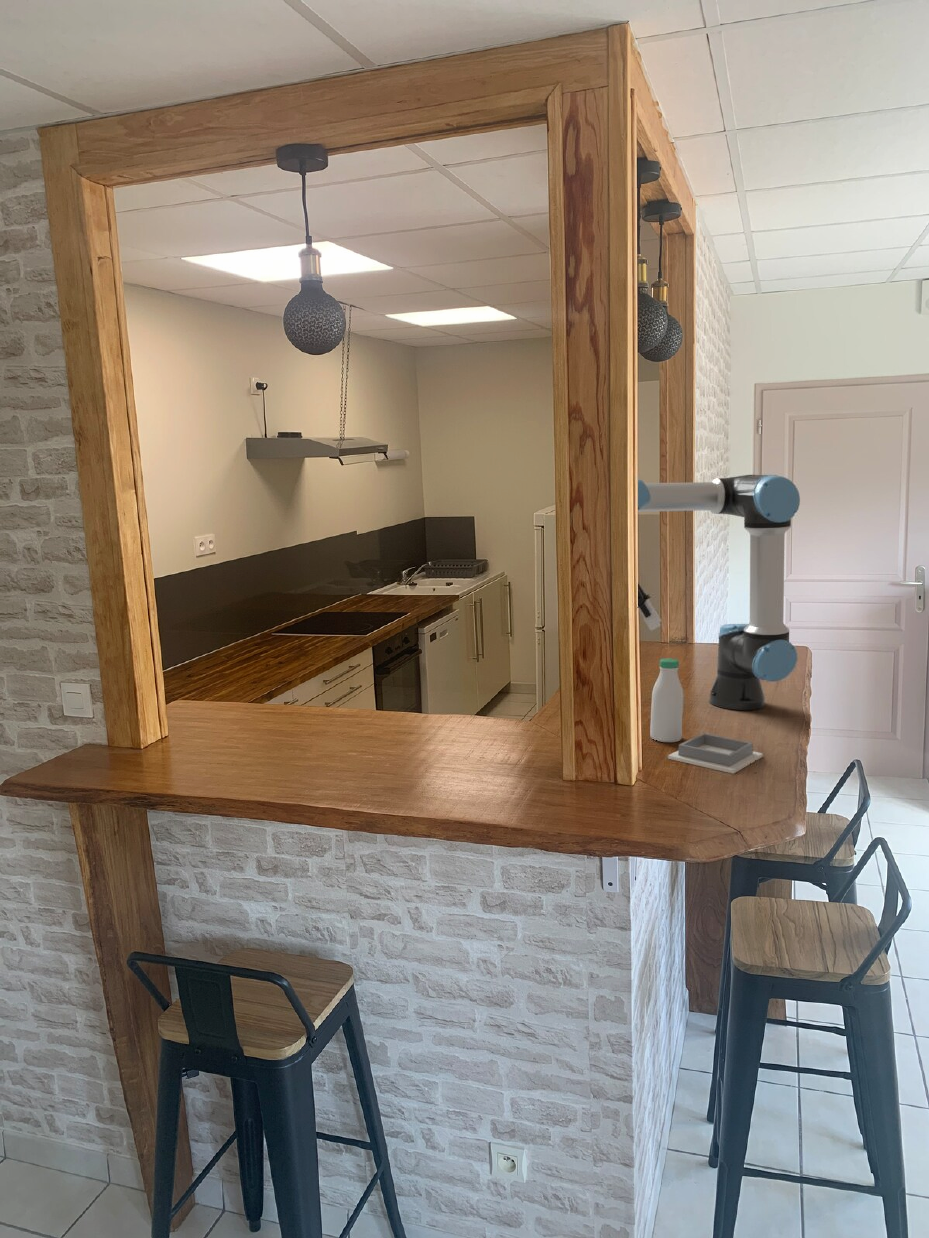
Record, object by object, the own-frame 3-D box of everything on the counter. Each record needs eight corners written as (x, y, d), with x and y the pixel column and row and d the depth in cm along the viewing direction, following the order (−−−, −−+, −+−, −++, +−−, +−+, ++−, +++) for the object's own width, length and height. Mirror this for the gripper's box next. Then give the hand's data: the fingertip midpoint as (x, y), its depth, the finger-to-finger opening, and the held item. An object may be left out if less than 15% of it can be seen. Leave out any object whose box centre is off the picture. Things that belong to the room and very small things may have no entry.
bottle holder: (699, 743, 228) (699, 730, 227) (762, 756, 217) (763, 743, 217) (667, 758, 215) (668, 744, 215) (733, 773, 205) (734, 759, 205)
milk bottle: (682, 744, 227) (685, 664, 223) (649, 742, 228) (653, 662, 225) (681, 735, 234) (685, 657, 231) (650, 733, 236) (653, 656, 232)
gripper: (603, 560, 244) (645, 629, 243) (594, 561, 220) (641, 638, 219) (627, 545, 243) (670, 614, 242) (622, 544, 219) (669, 622, 217)
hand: (656, 626), depth 230 cm, fingers open, 13 cm apart
